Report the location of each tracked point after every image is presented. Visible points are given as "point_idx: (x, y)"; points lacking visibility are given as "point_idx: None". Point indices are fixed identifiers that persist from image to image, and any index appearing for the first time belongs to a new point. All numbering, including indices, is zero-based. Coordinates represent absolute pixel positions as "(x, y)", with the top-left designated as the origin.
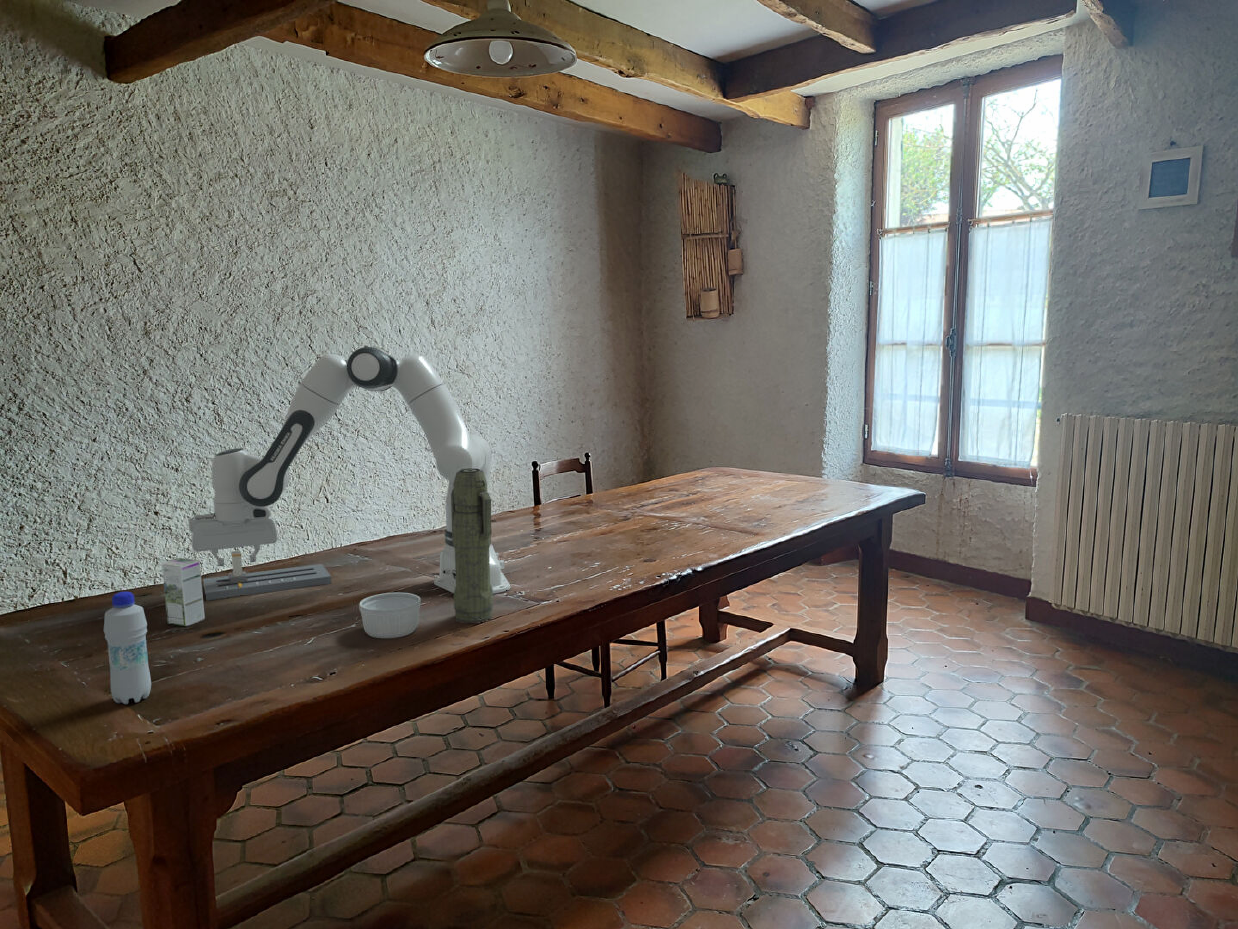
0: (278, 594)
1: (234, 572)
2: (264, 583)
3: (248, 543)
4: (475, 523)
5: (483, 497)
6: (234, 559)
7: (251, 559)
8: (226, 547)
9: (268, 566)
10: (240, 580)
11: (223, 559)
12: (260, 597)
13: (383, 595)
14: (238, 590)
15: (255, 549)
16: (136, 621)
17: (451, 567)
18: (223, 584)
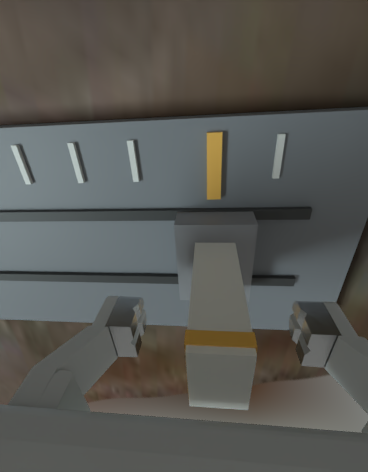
0: (42, 49)
1: (234, 255)
2: (100, 155)
3: (80, 447)
4: None
5: None
6: (237, 314)
7: (128, 308)
8: (341, 445)
9: (126, 383)
10: (207, 215)
11: (314, 334)
12: (126, 30)
13: None
14: (227, 116)
15: (80, 383)
16: None
17: None
18: (285, 212)
